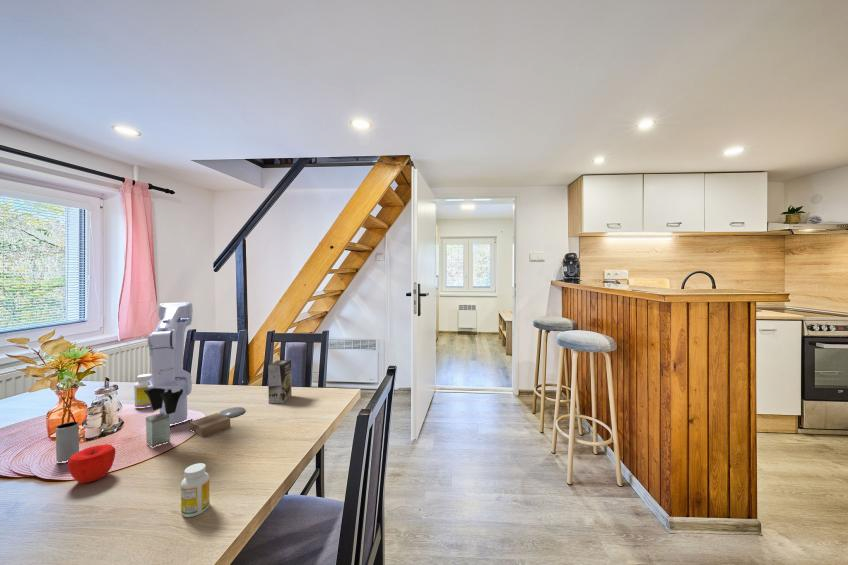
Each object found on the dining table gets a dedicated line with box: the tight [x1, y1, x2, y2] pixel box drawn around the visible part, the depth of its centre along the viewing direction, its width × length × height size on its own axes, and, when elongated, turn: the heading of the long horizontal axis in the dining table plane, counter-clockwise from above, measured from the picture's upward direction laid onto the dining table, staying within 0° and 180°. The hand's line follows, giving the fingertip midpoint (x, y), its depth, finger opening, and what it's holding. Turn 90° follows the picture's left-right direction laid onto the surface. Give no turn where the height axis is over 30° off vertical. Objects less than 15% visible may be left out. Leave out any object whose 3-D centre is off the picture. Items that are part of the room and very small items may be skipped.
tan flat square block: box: [189, 412, 231, 438], centre depth 117 cm, size 9×9×3 cm
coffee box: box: [267, 359, 293, 404], centre depth 144 cm, size 9×6×16 cm
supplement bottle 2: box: [180, 462, 210, 518], centre depth 76 cm, size 5×5×10 cm
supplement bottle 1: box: [133, 373, 152, 408], centre depth 138 cm, size 7×7×13 cm
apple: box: [67, 443, 116, 484], centre depth 88 cm, size 9×9×8 cm
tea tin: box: [145, 412, 171, 447], centre depth 107 cm, size 5×5×9 cm
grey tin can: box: [55, 421, 80, 462], centre depth 97 cm, size 4×4×10 cm
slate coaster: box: [218, 406, 246, 419], centre depth 130 cm, size 9×9×1 cm
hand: (164, 411), depth 107 cm, fingers open, 7 cm apart
